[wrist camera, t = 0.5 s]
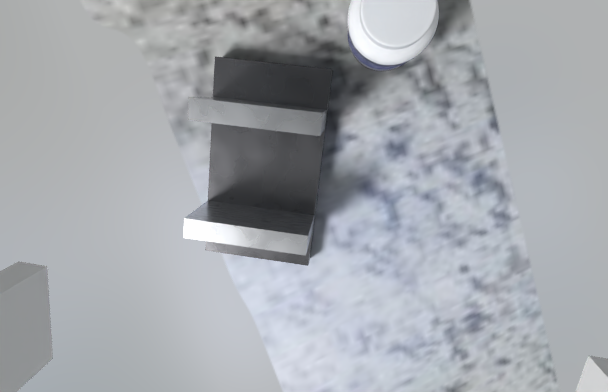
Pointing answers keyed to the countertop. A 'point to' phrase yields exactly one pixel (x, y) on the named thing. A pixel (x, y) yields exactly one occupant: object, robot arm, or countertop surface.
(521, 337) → the countertop surface
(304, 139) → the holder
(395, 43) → the pill bottle
